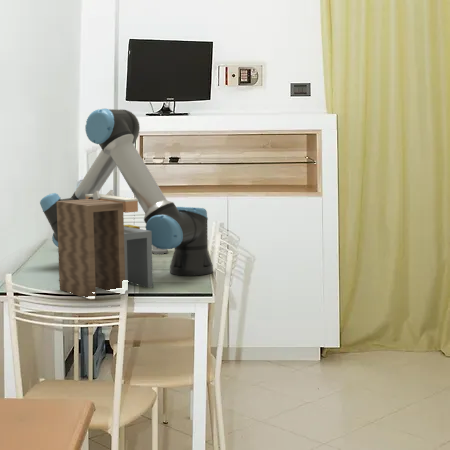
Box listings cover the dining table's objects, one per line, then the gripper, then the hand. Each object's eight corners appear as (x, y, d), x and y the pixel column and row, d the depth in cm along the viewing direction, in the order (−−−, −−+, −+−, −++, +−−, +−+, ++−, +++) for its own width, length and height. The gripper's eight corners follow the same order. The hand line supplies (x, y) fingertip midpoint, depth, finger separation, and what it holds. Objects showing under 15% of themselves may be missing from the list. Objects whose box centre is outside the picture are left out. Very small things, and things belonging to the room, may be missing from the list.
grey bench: (94, 282, 249) (92, 228, 247) (123, 278, 256) (122, 225, 254) (123, 291, 235) (121, 234, 233) (152, 286, 242) (151, 231, 240)
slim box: (85, 206, 256) (85, 194, 256) (97, 205, 259) (97, 193, 258) (125, 212, 236) (125, 199, 236) (138, 211, 239) (137, 199, 238)
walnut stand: (59, 289, 239) (56, 201, 236) (93, 284, 247) (90, 198, 243) (90, 299, 224) (87, 205, 220) (125, 294, 231) (123, 203, 228)
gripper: (102, 230, 271) (131, 202, 254) (57, 235, 260) (84, 205, 243) (96, 211, 273) (125, 182, 256) (51, 215, 262) (78, 185, 245)
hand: (105, 194), depth 250 cm, fingers closed on slim box, 5 cm apart
